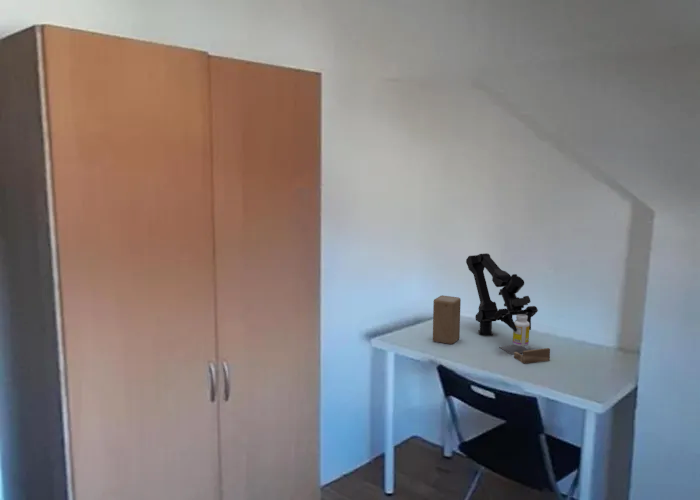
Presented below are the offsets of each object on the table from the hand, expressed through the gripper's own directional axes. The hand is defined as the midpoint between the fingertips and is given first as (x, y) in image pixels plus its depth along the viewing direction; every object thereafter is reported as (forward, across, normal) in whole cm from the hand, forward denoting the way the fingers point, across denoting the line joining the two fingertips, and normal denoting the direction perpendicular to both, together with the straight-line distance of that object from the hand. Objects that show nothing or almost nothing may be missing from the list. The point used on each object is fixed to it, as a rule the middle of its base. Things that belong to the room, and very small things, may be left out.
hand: (523, 330), depth 256 cm
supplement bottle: (+4, 0, +6) cm, 7 cm away
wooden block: (-11, -23, +27) cm, 37 cm away
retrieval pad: (+4, 0, +11) cm, 12 cm away
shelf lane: (+12, 0, +2) cm, 13 cm away
